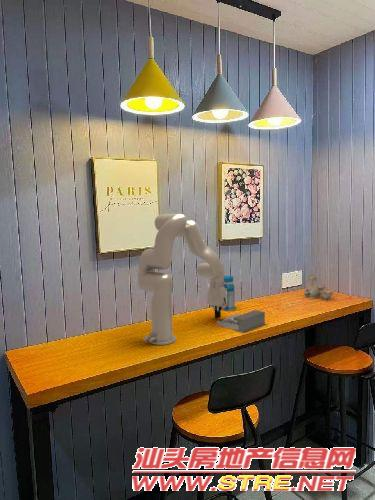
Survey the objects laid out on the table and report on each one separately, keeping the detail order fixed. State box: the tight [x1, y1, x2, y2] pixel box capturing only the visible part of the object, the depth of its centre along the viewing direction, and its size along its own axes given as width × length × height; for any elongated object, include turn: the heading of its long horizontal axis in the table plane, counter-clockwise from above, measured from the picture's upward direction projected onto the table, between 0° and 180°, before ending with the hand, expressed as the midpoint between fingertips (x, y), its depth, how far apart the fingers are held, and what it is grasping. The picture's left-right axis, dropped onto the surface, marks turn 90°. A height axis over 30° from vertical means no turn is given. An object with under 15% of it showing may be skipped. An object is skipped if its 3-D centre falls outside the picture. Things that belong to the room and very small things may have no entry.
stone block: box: [222, 314, 240, 325], centre depth 195 cm, size 12×5×10 cm
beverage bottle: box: [221, 275, 236, 312], centre depth 222 cm, size 8×8×20 cm
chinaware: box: [303, 272, 334, 301], centre depth 247 cm, size 28×17×17 cm, turn 1°
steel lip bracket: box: [216, 309, 266, 333], centre depth 191 cm, size 18×18×6 cm
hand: (217, 317), depth 202 cm, fingers closed
